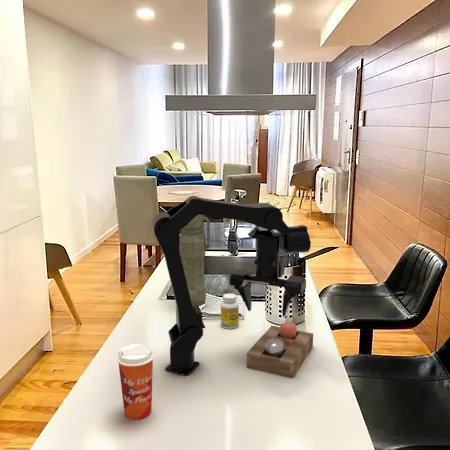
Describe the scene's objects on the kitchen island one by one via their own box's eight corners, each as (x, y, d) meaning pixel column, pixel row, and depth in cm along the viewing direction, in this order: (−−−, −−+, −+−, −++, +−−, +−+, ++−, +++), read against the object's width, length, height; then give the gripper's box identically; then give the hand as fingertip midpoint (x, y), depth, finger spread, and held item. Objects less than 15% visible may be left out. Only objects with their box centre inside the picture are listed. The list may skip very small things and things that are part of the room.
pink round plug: (293, 341, 125) (293, 330, 124) (277, 338, 127) (277, 327, 126) (298, 335, 129) (298, 324, 128) (282, 332, 131) (283, 321, 130)
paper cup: (123, 426, 95) (120, 363, 92) (116, 406, 102) (113, 346, 99) (161, 417, 98) (159, 355, 95) (151, 398, 105) (149, 339, 102)
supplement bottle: (229, 320, 147) (229, 291, 145) (242, 325, 143) (242, 295, 141) (217, 325, 143) (217, 295, 141) (229, 331, 139) (229, 300, 137)
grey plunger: (279, 359, 115) (280, 347, 115) (262, 356, 117) (263, 344, 117) (285, 352, 119) (285, 340, 119) (269, 348, 121) (269, 337, 120)
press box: (292, 378, 113) (293, 363, 112) (246, 367, 118) (246, 352, 118) (312, 347, 129) (313, 333, 128) (271, 338, 134) (271, 325, 133)
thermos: (175, 301, 162) (172, 201, 155) (209, 300, 163) (208, 200, 156) (174, 311, 154) (172, 205, 146) (210, 310, 155) (210, 205, 147)
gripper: (312, 250, 121) (310, 307, 124) (244, 243, 128) (243, 297, 131) (301, 261, 111) (299, 323, 114) (228, 253, 118) (228, 312, 121)
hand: (266, 313), depth 121 cm, fingers open, 9 cm apart
